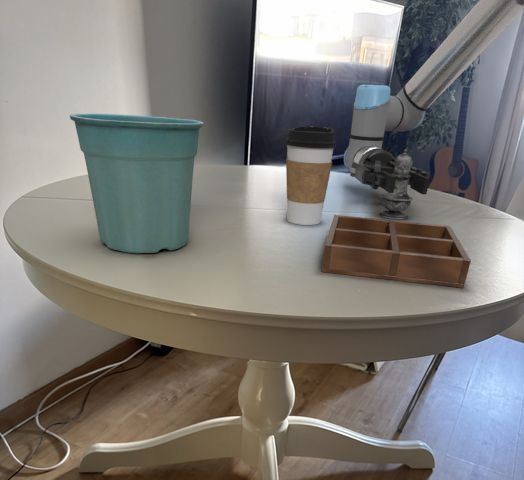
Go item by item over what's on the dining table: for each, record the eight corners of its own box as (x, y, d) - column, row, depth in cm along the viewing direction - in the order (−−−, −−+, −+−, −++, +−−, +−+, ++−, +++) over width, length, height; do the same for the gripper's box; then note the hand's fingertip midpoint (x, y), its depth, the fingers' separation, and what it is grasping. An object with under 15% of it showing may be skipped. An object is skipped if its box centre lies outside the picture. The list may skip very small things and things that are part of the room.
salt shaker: (380, 211, 95) (391, 145, 89) (410, 215, 93) (424, 148, 87) (375, 217, 90) (386, 148, 84) (407, 221, 88) (421, 151, 83)
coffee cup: (333, 219, 86) (344, 128, 79) (318, 229, 80) (329, 131, 72) (290, 213, 89) (297, 124, 82) (272, 222, 83) (278, 126, 75)
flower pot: (155, 222, 79) (149, 113, 71) (227, 244, 70) (229, 122, 62) (62, 239, 67) (43, 112, 60) (133, 268, 58) (121, 123, 51)
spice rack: (445, 248, 73) (450, 225, 72) (463, 288, 58) (471, 260, 57) (331, 236, 76) (334, 214, 74) (321, 271, 61) (324, 245, 59)
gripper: (411, 186, 107) (454, 209, 86) (330, 182, 105) (355, 205, 85) (418, 150, 103) (465, 165, 83) (334, 145, 102) (361, 160, 81)
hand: (409, 185), depth 84 cm, fingers open, 5 cm apart
